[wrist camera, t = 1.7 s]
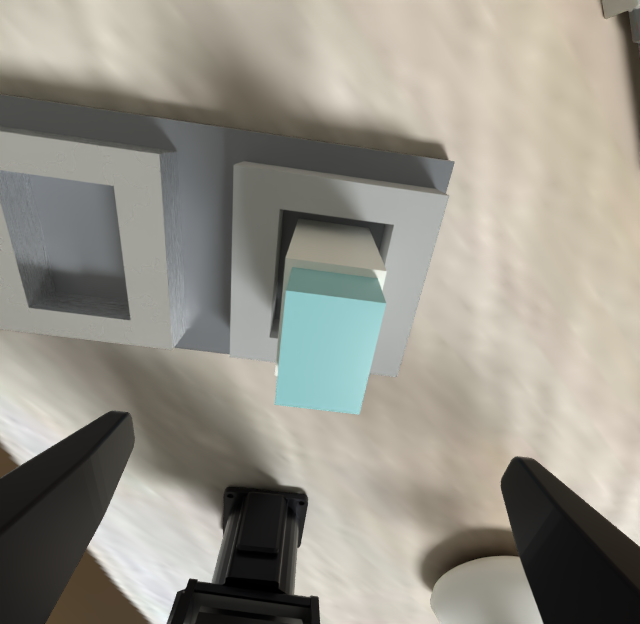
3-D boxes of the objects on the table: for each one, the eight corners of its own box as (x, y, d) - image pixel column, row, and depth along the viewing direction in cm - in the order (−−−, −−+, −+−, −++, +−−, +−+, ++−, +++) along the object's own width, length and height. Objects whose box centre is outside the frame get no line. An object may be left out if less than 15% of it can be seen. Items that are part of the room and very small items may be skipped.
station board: (449, 160, 17) (454, 161, 16) (392, 366, 22) (394, 374, 22) (-32, 89, 16) (-49, 87, 15) (31, 322, 21) (21, 329, 21)
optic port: (177, 151, 16) (159, 154, 14) (185, 330, 20) (172, 350, 19) (-27, 121, 16) (-73, 121, 14) (25, 311, 20) (-4, 328, 18)
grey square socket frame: (436, 188, 17) (449, 195, 15) (391, 356, 21) (396, 377, 19) (243, 160, 16) (233, 165, 15) (238, 337, 21) (229, 357, 19)
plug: (369, 228, 18) (396, 295, 10) (351, 316, 20) (364, 421, 13) (298, 218, 17) (278, 279, 10) (289, 308, 20) (267, 410, 13)
